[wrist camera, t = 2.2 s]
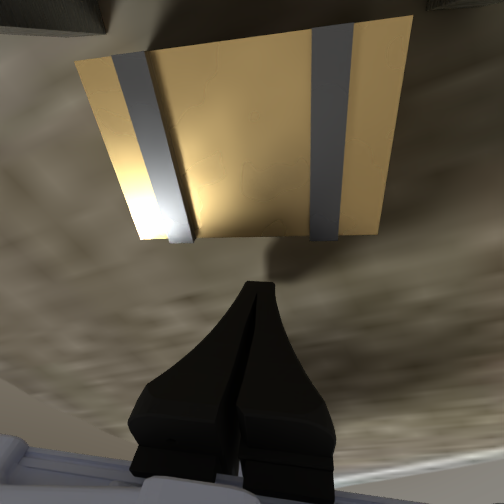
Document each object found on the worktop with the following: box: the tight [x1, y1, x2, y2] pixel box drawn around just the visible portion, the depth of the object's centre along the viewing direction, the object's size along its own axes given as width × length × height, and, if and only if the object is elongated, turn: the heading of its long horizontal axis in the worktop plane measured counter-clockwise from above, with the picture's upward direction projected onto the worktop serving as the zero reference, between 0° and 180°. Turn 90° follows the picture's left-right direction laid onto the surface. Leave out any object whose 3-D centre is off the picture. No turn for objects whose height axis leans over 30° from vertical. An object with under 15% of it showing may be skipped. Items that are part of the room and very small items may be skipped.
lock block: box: [74, 15, 413, 243], centre depth 9 cm, size 5×8×4 cm, turn 96°
